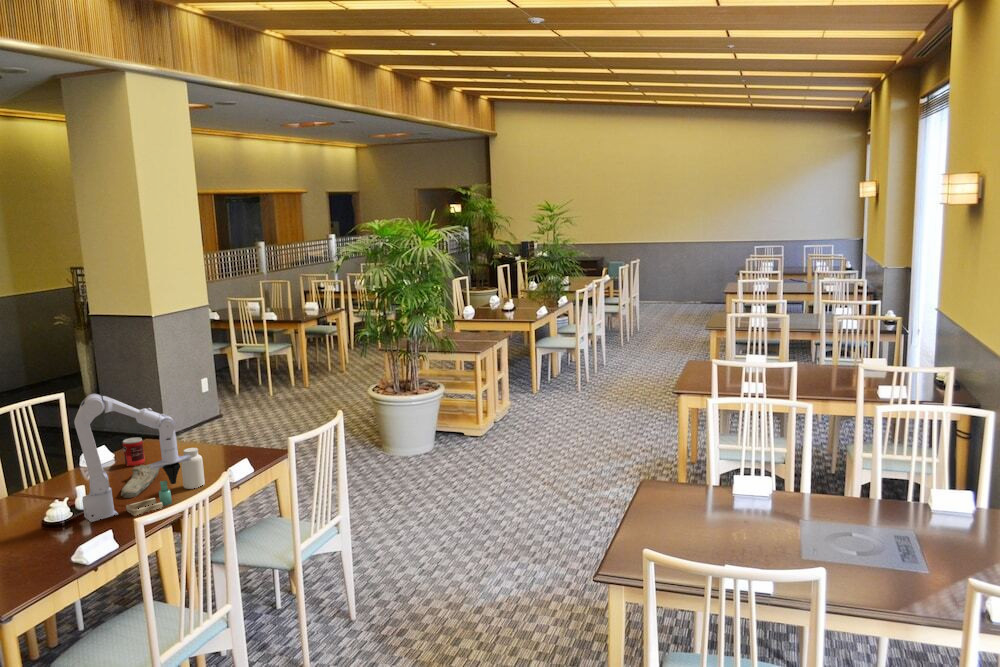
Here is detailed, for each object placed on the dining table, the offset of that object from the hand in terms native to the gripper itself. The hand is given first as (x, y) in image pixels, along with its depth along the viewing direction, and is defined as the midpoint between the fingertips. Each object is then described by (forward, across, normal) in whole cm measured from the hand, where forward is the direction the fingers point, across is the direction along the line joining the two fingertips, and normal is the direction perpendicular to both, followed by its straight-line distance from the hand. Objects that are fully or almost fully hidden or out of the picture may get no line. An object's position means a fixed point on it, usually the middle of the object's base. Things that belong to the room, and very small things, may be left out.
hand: (173, 483), depth 290 cm
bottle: (+7, +3, 0) cm, 8 cm away
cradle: (+7, +10, 0) cm, 12 cm away
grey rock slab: (+7, +2, -32) cm, 33 cm away
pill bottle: (+7, -12, -11) cm, 17 cm away
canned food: (+7, -6, -62) cm, 63 cm away
